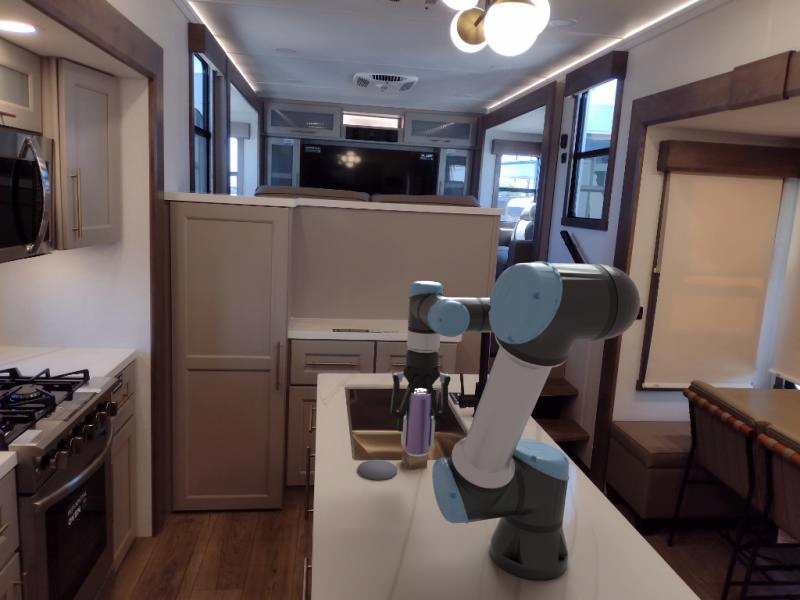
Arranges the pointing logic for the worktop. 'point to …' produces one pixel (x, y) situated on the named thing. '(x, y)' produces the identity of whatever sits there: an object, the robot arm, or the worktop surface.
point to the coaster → (377, 470)
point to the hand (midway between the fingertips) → (417, 444)
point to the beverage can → (418, 423)
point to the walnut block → (414, 460)
